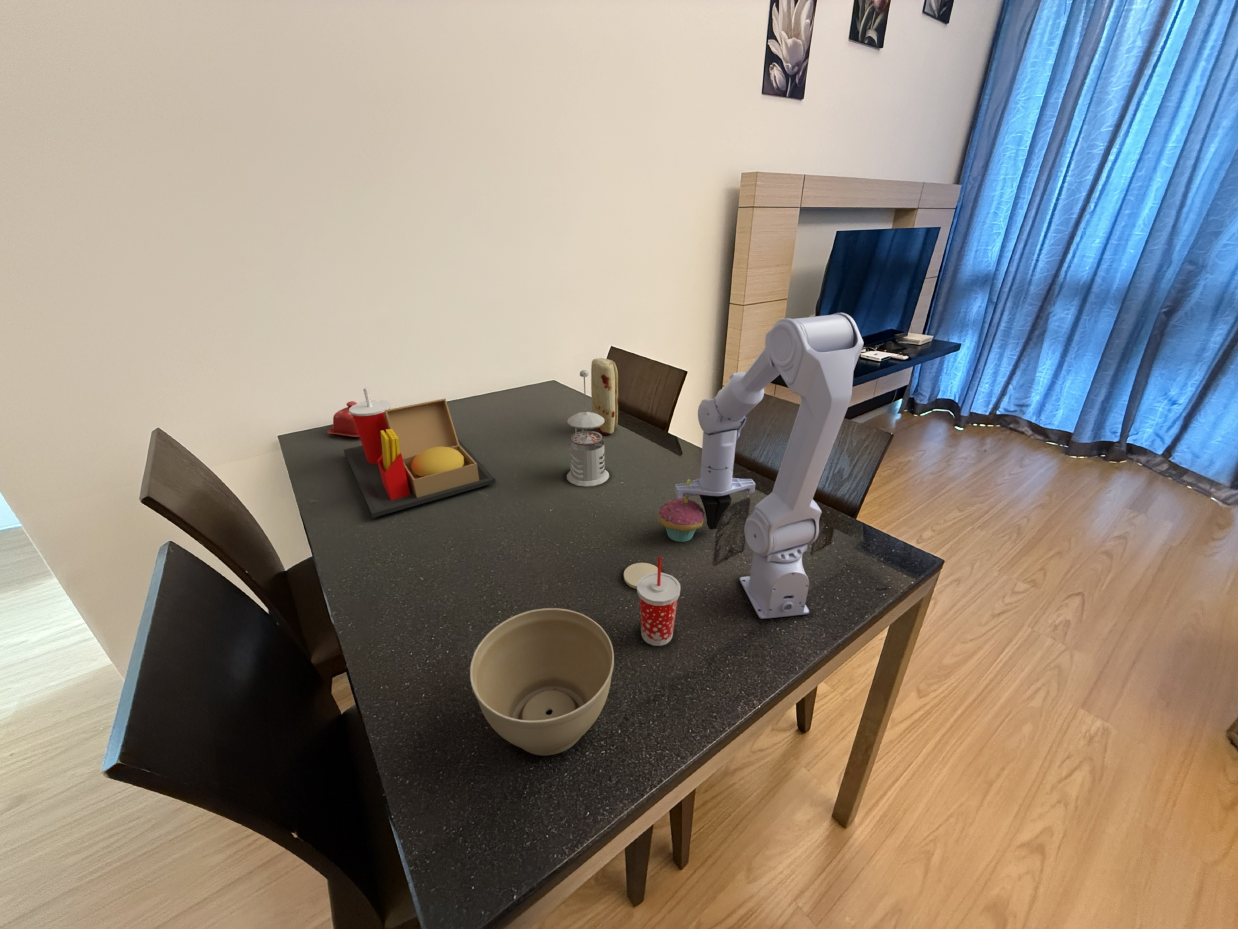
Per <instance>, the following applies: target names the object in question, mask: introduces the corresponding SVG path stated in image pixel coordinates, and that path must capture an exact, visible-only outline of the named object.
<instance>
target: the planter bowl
mask: <svg viewBox="0 0 1238 929" xmlns="http://www.w3.org/2000/svg"><path fill="white" fill-rule="evenodd" d="M614 667H615V653H614V647H613V643H612V641H611V639H610V637H609V635H608V633H606V631H605V629H604V628H603V627H602V626H601V625H600V624H599V623H597V622H596V621H595V620H594V619H592V618H590V617H589V616H587V615H586V614H583V613H580V612H578V611H575V610H571V609H566V608H555V607H549V608H537V609H532V610H528V611H524V612H521V613H519V614H516V615H514V616H510V617H509V618H508V619H506V620H504V621H502V622H501V623H499V624H498V625H497V626H495V627H494V628H492V629H491V630H490V631H489V632H488V633H487V634H486V635H485V636H484V637H483V638H482V639H481V641H480V642H479V644H478V645H477V647H476V648H475V651H474V653H473V655H472V658H471V662H470V667H469V680H470V685H471V689H472V692H473V694H474V697H475V698H476V700H477V703H478V705H479V708H480V710H481V712H482V715H483V716H484V718H485V720H486V721H487V723H488V724H489V725H490V726H491V729H493V730H494V731H495V732H496V733H497V734H498V735H499V736H500V737H501V738H502V739H503V740H505V741H506V742H508V743H509V744H512V745H514V746H515V747H518V748H520V749H522V750H524V751H525V752H527V753H529V754H532V755H536V756H544V757H545V756H554V755H557V754H560V753H564V752H565V751H567V750H569V749H571V748H572V747H573V746H574V745H576V744H577V742H578V741H580V739H581V738H582V737H583V736H584V735H585V734H587V732H588V731H589V730H590V729H591V727H592V726H594V724H595V722H596V721H597V719H598V717H599V716H600V715H601V713H602V711H603V709H604V707H605V705H606V702H607V699H608V696H609V693H610V688H611V683H612V676H613V672H614ZM549 711H551V713H550V714H547V713H548V712H549Z"/></svg>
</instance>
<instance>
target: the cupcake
mask: <svg viewBox="0 0 1238 929" xmlns="http://www.w3.org/2000/svg"><path fill="white" fill-rule="evenodd" d="M691 477H692V476H691V475H689V477H688V479H687V480H686V482H687V486H689V484H691V481H692V480H691ZM689 497H690V496H684V498H681V499H677V498H673V499H670V500H668V501H666V502H665V503H663V505H661V506H660V508H659V512H658V522H659V523H660V524H661V525H662V526H663V527H664V528H665V530H666V533H667V534H666V535H667V536H668V538H669V539H670V540H672V541H674V542H678V543H685V542H688V541H690V540H691V539H693V537H694V534H695V532H696V531H697V529H699V528H701V527H702V526H703V525H704V520H705V515H706V513H705V510H704V508H702V506H701V505H700V504H699V503H697V502H696V501H695V500H692V499H689Z"/></svg>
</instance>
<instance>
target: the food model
mask: <svg viewBox="0 0 1238 929" xmlns="http://www.w3.org/2000/svg"><path fill="white" fill-rule="evenodd" d="M590 367H591V368H590V372H591V373H590V393H591V394H590V395H591V412H592V413H596V414H598V415H600V416H601V417H603V418H604V420H605V422H604V423H603V425H602V426H600V427H598V428H595V429H596V430H595V431H596V432H597V433H600V434H601V435H602V436H604V435H613V433H614V432H615V430H616V429H617V426H618V423H619V422H618V420H619V373H618V368H617V364H616V362H615V361H614V360H612V359H609V358H604V357H599V358H594V359H592V360H591V366H590Z"/></svg>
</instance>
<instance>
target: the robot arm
mask: <svg viewBox="0 0 1238 929" xmlns="http://www.w3.org/2000/svg"><path fill="white" fill-rule="evenodd" d="M863 347H864V339H863V338H862V336H861V333H860V330H859V328H858V325H857V323H856V321H855V320H854V318H853V317H852V316H851V315H849V314H847V313H845V312H835V313H833V314H828V315H827V314H826V315H818V316H808V317H799V318H791V317H790V318H789V317H787V318H786V317H785V318H784V317H783V318H781V319H779V320H777V321H776V322H775V323H774V324H773V326H772V327H771V329H769V331H768V332H766V333H765V338H764V347H763V349H762V350H761V351H760V353H759V354H758V355H757V356H756V358H755V359H754V361H753V362H752V364H751V365H750V366H749V367H748V369H747V370H746V371H740V372H733V373H732V374H731V375H730V376H729V380H728V381H727V382H726V384H725V385H724V386H723V387H722V388H720V389H719V390H718V392H717V394H716V395H715V396H714V398H705V399H702V400H700V403H699V406H698V409H697V420H698V424H699V426H700V428H701V430H702V432H703V433H702V445H701V457H700V458H701V459H700V472H699V478H697V479H694V480H691V484H689V486H687V481H686V482H684V483H677V484H674V495H675V497H676V499H684V497H685V496H689V497H694V496H699V498H700V500H701V503H702V506H703V510H704V513H705V517H706V518H705V520H706V526H707V527H708V529H709V530H717V529H718V525H719V523H720V521H721V519H722V516H723V514H724V513H725V511H726V510H727V509H728V508H729V507H730V506H731V504H732V500H733V499H732V497H731V494H734V493H748V494H754V493H756V492H755V491H756V482H755V481H754V480H753V479H752V478H738V477H737V478H736V477H733V473H734V463H735V456H736V455H735V454H736V445H737V440H739V438H740V437H741V431H742V429H743V428H744V427H745V425H746V423H747V417H746V416H747V415H748V414H749V413H750V412H751V411H752V410H753V409H754V408H756V407H757V405H758V404H759V403H760V402H762V400H763V398H764V396H765V387H767V386H768V385H769V384H770V383H772V382H773V381H774V380H775V379H776V378H778V377H779V376H781V378H782V380H783V381H784V382H785V384H786V386H787V388H788V390H789V391H790V392H791V393H792V394H795V395H796V396H799V397H800V399H801V401H800V404H799V407H798V409H797V413H796V416H795V420H794V423H793V426H792V428H791V432H790V435H789V438H788V441H787V444H786V447H785V451H784V454H783V457H782V459H781V463H780V466H779V469H778V472H777V476H776V479H775V481H774V485H773V488H772V491H771V493H769V494H768V495H766V496H765V497H764V498H763V499H761V500H760V501H759V502H757V504H755V505H754V508H753V511H752V513H751V514H750V515H748V517H747V518H746V519H745V522H744V526H743V527H744V528H743V532H744V538H745V541H746V544H747V546H748V547H749V549H750V550H751V551H752V556H751V557H752V558H751V565H750V572H749V576H741V577H739V582H740V584H741V586H742V588H743V591H745V594H746V596H747V597H748V599H749V602H750V603H751V605H752V607H753V609H754V611H755V613H756V615H757V617H758V618H759V619H761V620H765V619H774V618H783V617H794V616H804V615H809V613H810V609H809V608H808V606H807V605H806V602H807V597H808V592H809V588H810V580H809V577H808V575H807V574H806V572H805V569H804V565H803V554H804V553H805V552H807V551H808V546H809V545H810V544H812V543H814V542H816V541H817V539H818V537H819V533H820V518H821V515H822V514H823V512H822V509H821V508H820V506H819V505H818V503H817V502H816V501H815V500H814V497H815V494H816V491H817V489H818V486H819V483H820V480H821V478H822V476H823V473H824V470H825V468H826V465H827V462H828V460H829V458H830V456H831V452H832V450H833V448H834V445H835V442H836V440H837V437H838V434H839V432H840V429H841V427H842V424H843V421H844V418H845V416H846V414H847V411H848V408H849V405H850V404H851V399H852V394H853V382H854V371H855V368H856V365H857V362H858V360H859V358H860V355H861V352H862V349H863Z"/></svg>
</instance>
